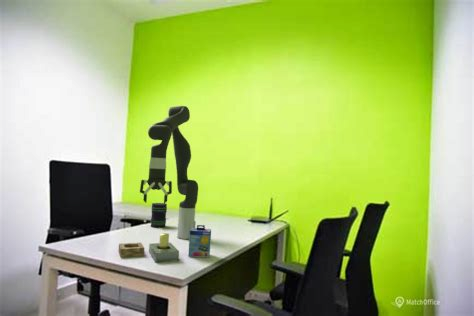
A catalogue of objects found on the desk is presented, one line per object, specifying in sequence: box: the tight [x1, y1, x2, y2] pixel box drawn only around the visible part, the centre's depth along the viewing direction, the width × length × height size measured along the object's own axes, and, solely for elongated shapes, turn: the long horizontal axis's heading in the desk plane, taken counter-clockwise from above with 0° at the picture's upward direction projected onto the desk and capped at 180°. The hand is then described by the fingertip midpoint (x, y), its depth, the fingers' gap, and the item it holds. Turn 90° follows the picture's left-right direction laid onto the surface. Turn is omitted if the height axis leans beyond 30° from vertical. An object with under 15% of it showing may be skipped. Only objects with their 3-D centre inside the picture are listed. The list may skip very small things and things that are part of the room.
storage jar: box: [150, 202, 168, 229], centre depth 208 cm, size 10×10×15 cm
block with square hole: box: [148, 242, 180, 263], centre depth 142 cm, size 10×16×4 cm, turn 25°
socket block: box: [118, 242, 145, 258], centre depth 144 cm, size 10×10×4 cm
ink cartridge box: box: [187, 224, 212, 259], centre depth 146 cm, size 10×6×14 cm, turn 95°
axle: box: [158, 232, 170, 249], centre depth 142 cm, size 4×4×10 cm
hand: (155, 202), depth 145 cm, fingers open, 8 cm apart
